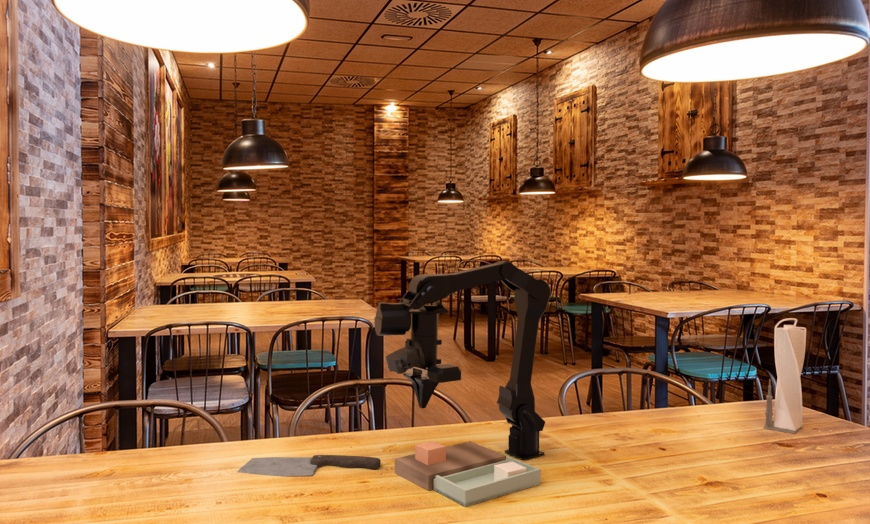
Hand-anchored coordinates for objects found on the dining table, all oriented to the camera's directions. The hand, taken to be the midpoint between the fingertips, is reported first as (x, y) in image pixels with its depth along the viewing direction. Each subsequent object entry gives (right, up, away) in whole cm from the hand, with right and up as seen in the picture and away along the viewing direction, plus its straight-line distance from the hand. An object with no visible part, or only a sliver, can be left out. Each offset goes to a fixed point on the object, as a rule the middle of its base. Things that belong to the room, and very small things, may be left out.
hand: (422, 407), depth 141 cm
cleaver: (-24, -13, 0) cm, 27 cm away
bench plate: (+6, -13, -2) cm, 14 cm away
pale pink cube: (+17, -9, -10) cm, 22 cm away
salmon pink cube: (+2, -10, -4) cm, 11 cm away
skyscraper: (+93, -12, +30) cm, 98 cm away
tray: (+13, -13, -11) cm, 21 cm away
